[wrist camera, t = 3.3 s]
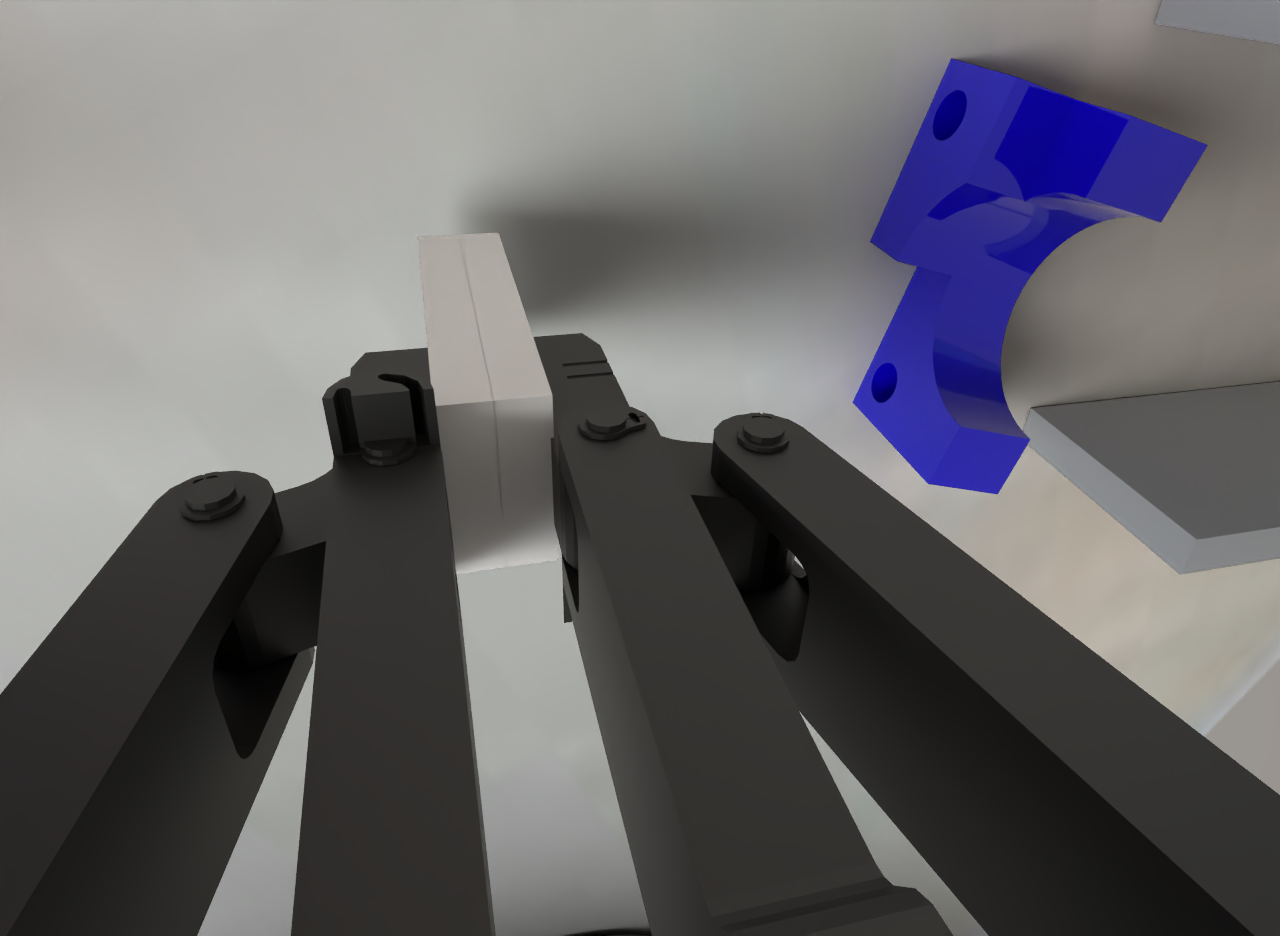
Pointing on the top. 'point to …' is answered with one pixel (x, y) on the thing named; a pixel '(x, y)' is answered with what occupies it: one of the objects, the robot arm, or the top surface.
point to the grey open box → (1182, 420)
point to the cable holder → (994, 252)
